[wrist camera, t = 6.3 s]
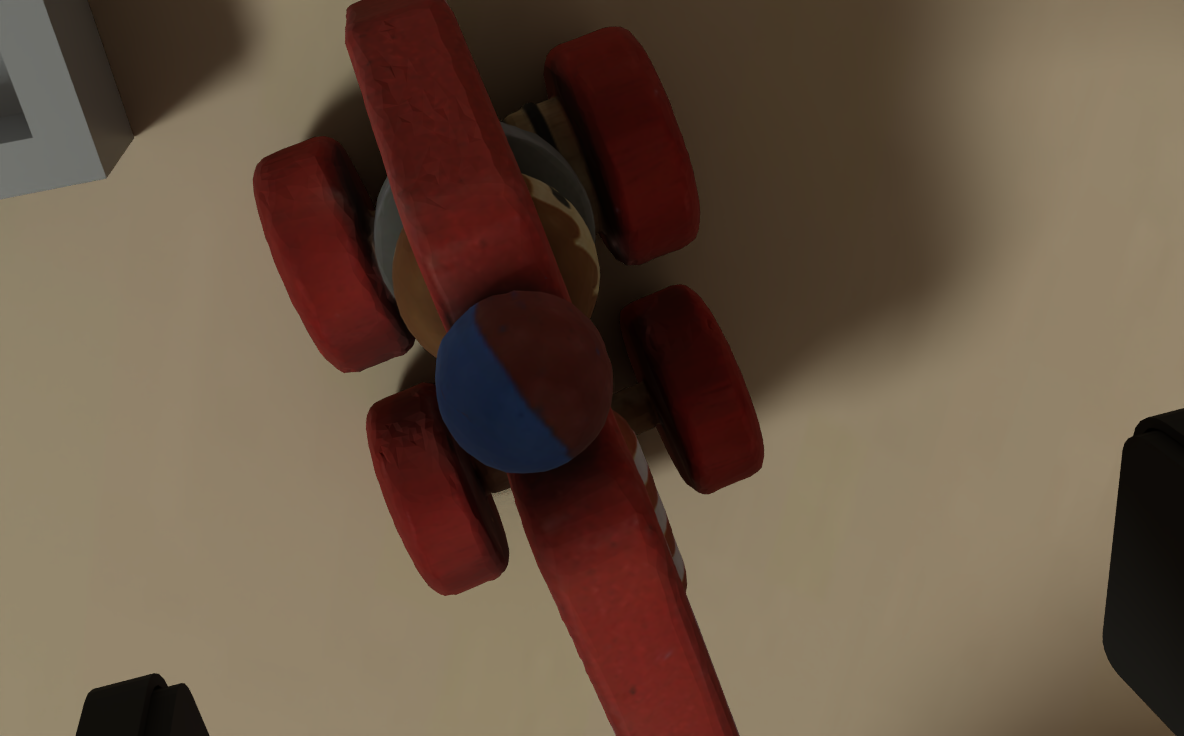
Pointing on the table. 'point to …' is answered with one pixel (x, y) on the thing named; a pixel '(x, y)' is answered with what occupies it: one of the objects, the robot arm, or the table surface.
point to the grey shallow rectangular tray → (56, 98)
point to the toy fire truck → (525, 335)
